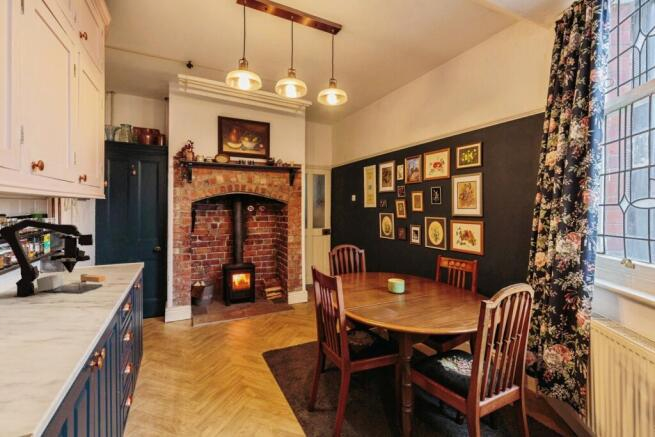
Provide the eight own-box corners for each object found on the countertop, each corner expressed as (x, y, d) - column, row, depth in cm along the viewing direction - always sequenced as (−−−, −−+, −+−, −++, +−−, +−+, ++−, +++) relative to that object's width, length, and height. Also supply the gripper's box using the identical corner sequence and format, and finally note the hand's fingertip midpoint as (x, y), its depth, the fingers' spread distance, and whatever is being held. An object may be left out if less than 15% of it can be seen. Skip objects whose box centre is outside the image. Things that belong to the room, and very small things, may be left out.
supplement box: (47, 275, 181) (36, 278, 169) (62, 273, 183) (52, 276, 172) (48, 287, 181) (37, 291, 169) (64, 285, 183) (54, 289, 172)
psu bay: (82, 293, 171) (82, 286, 170) (46, 292, 170) (46, 285, 170) (102, 286, 187) (102, 279, 186) (70, 285, 186) (70, 279, 186)
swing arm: (78, 280, 183) (78, 275, 183) (85, 278, 187) (85, 273, 186) (98, 282, 179) (98, 277, 179) (105, 281, 183) (105, 275, 183)
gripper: (97, 244, 182) (96, 270, 182) (66, 244, 181) (65, 269, 182) (82, 247, 171) (82, 274, 171) (49, 246, 170) (49, 273, 171)
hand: (70, 272), depth 174 cm, fingers closed
